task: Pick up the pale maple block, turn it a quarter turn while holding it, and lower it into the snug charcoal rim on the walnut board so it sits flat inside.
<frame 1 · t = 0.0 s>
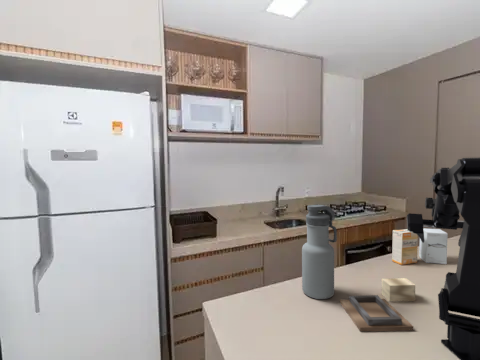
hand: (440, 243, 82), 15 cm above the countertop, tool tilted 35°, fingers open, 9 cm apart
water bottle: (318, 292, 83), on the countertop
nest board: (373, 315, 70), on the countertop
supplement box: (404, 262, 106), on the countertop
supplement box 2: (432, 261, 107), on the countertop
maple block: (397, 297, 79), on the countertop
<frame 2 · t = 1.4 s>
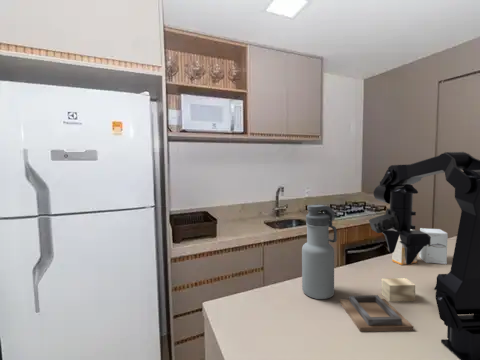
hand: (399, 258, 78), 12 cm above the countertop, tool pointing down, fingers open, 9 cm apart
nothing on the countertop moved.
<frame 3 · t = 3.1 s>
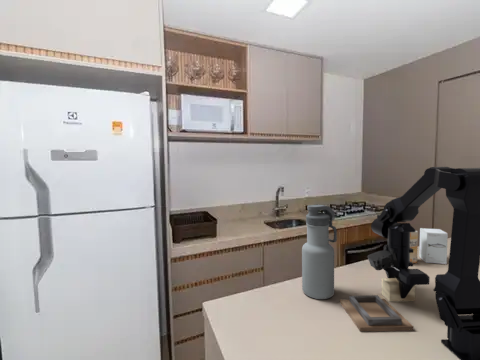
hand: (397, 293, 79), 1 cm above the countertop, tool pointing down, fingers closed on maple block, 4 cm apart
maple block: (397, 297, 79), on the countertop, touching gripper
everything else where it was.
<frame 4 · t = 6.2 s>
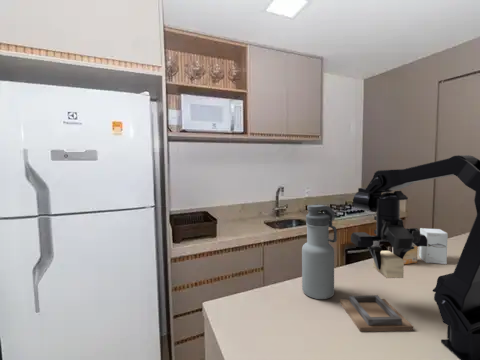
hand: (387, 268, 74), 11 cm above the countertop, tool pointing down, fingers closed on maple block, 4 cm apart
maple block: (387, 272, 74), point 10 cm above the countertop, touching gripper
everything else where it was.
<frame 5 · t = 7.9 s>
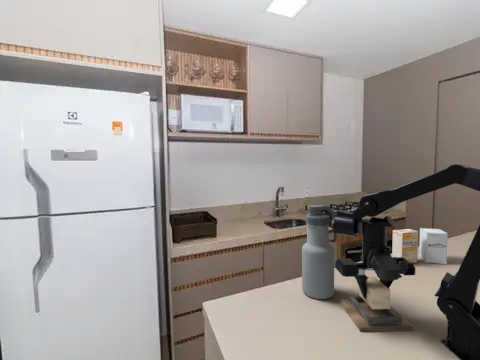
hand: (373, 297, 70), 5 cm above the countertop, tool pointing down, fingers closed on maple block, 4 cm apart
maple block: (373, 301, 70), point 4 cm above the countertop, touching gripper
everything else where it was.
when the fingers open (3 cm above the countertop, at t = 9.1 s): maple block stays where it is, resting on nest board.
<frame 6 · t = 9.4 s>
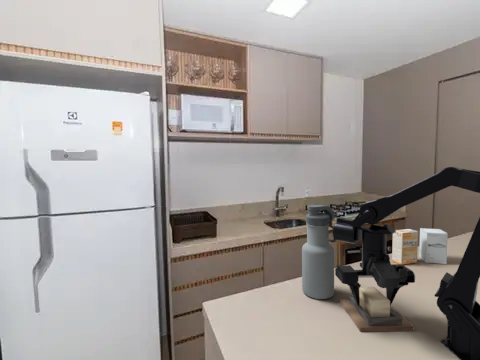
hand: (373, 304, 70), 3 cm above the countertop, tool pointing down, fingers open, 8 cm apart
maple block: (373, 311, 70), point 1 cm above the countertop, touching nest board
everything else where it was.
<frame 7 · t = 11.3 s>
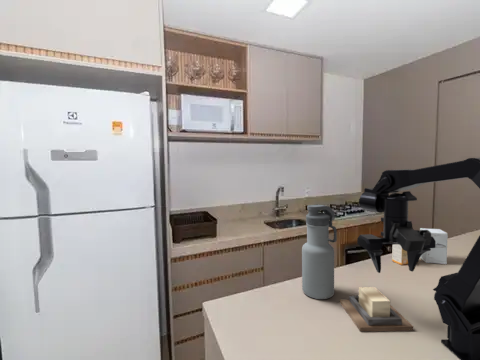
hand: (394, 271, 72), 11 cm above the countertop, tool pointing down, fingers open, 9 cm apart
nothing on the countertop moved.
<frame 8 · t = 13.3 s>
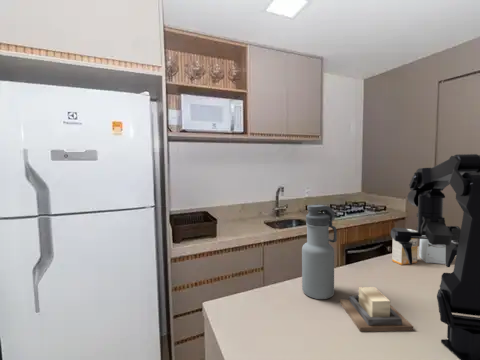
hand: (428, 265, 75), 11 cm above the countertop, tool pointing down, fingers open, 9 cm apart
nothing on the countertop moved.
at the end: maple block 0.0 cm off-centre on the nest board, point 1.0 cm above the nest board's base; maple block tilted 0°; the gripper is holding nothing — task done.
